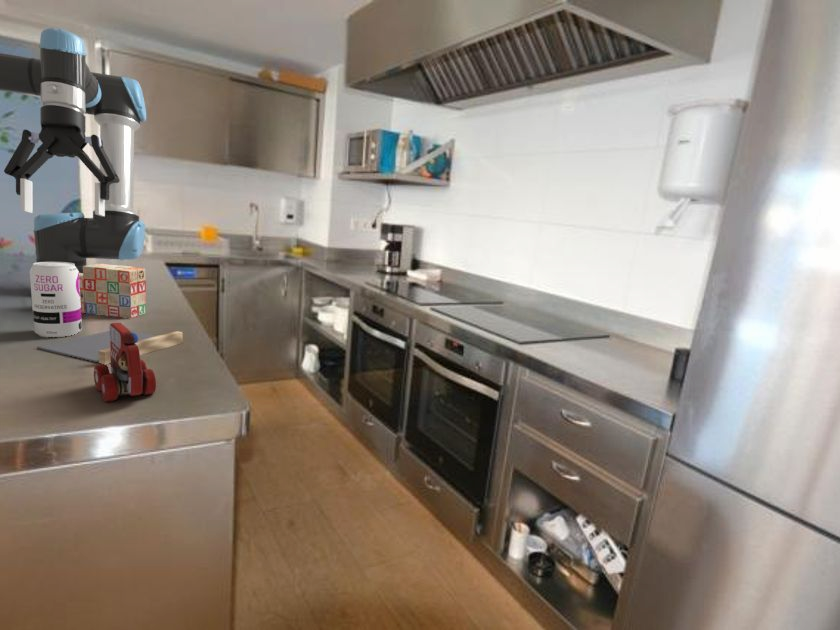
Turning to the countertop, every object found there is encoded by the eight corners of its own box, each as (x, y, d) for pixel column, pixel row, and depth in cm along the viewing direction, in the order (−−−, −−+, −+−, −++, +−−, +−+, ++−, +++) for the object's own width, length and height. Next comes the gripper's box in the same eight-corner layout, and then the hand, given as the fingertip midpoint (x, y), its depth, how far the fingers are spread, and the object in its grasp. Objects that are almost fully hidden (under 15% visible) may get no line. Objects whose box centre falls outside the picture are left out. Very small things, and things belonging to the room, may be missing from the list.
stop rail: (177, 341, 105) (176, 331, 105) (182, 343, 105) (182, 332, 104) (99, 363, 89) (98, 350, 88) (105, 364, 88) (104, 352, 88)
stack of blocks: (50, 310, 122) (46, 262, 119) (70, 306, 128) (67, 259, 126) (131, 319, 121) (129, 270, 118) (147, 314, 127) (145, 267, 124)
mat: (121, 330, 110) (121, 328, 110) (176, 341, 105) (176, 339, 105) (37, 348, 94) (37, 346, 94) (98, 363, 89) (98, 361, 89)
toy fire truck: (109, 410, 71) (106, 341, 69) (91, 383, 80) (88, 322, 77) (161, 400, 76) (159, 336, 74) (139, 376, 84) (137, 318, 82)
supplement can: (77, 327, 110) (73, 261, 107) (85, 335, 104) (81, 266, 101) (32, 331, 104) (26, 261, 101) (38, 340, 98) (32, 267, 95)
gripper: (-19, 97, 94) (-18, 207, 95) (122, 108, 99) (122, 213, 99) (6, 112, 102) (7, 213, 102) (136, 122, 106) (136, 219, 107)
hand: (63, 213), depth 101 cm, fingers open, 13 cm apart
